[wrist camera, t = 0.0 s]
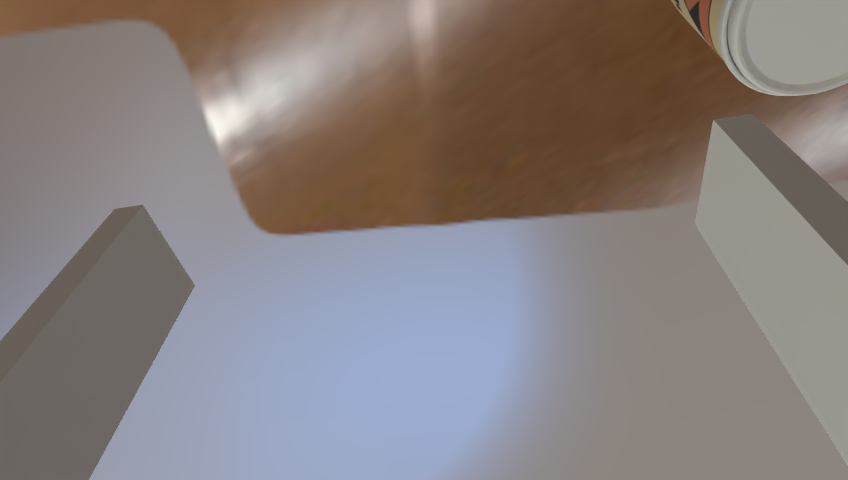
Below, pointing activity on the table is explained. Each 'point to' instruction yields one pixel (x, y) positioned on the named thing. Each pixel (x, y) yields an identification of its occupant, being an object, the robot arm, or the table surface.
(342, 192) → the table surface
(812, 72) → the coffee cup
